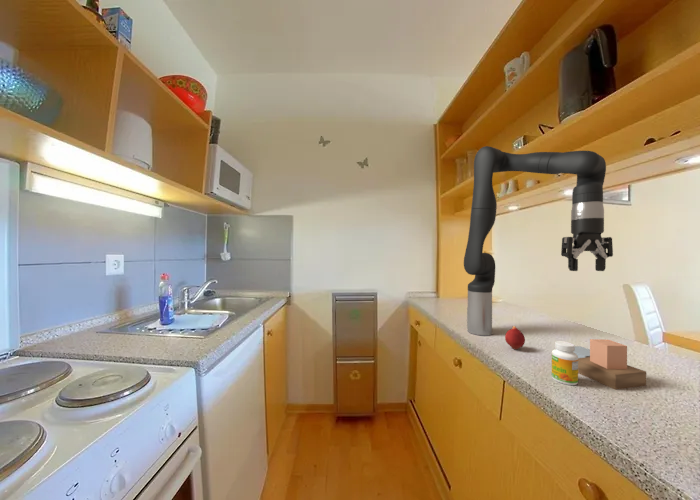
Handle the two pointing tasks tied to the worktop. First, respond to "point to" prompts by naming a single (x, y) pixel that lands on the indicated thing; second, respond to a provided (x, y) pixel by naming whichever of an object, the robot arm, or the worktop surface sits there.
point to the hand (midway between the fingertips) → (586, 270)
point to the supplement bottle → (565, 363)
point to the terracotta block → (608, 354)
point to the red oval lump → (515, 338)
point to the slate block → (582, 352)
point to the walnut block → (612, 375)
